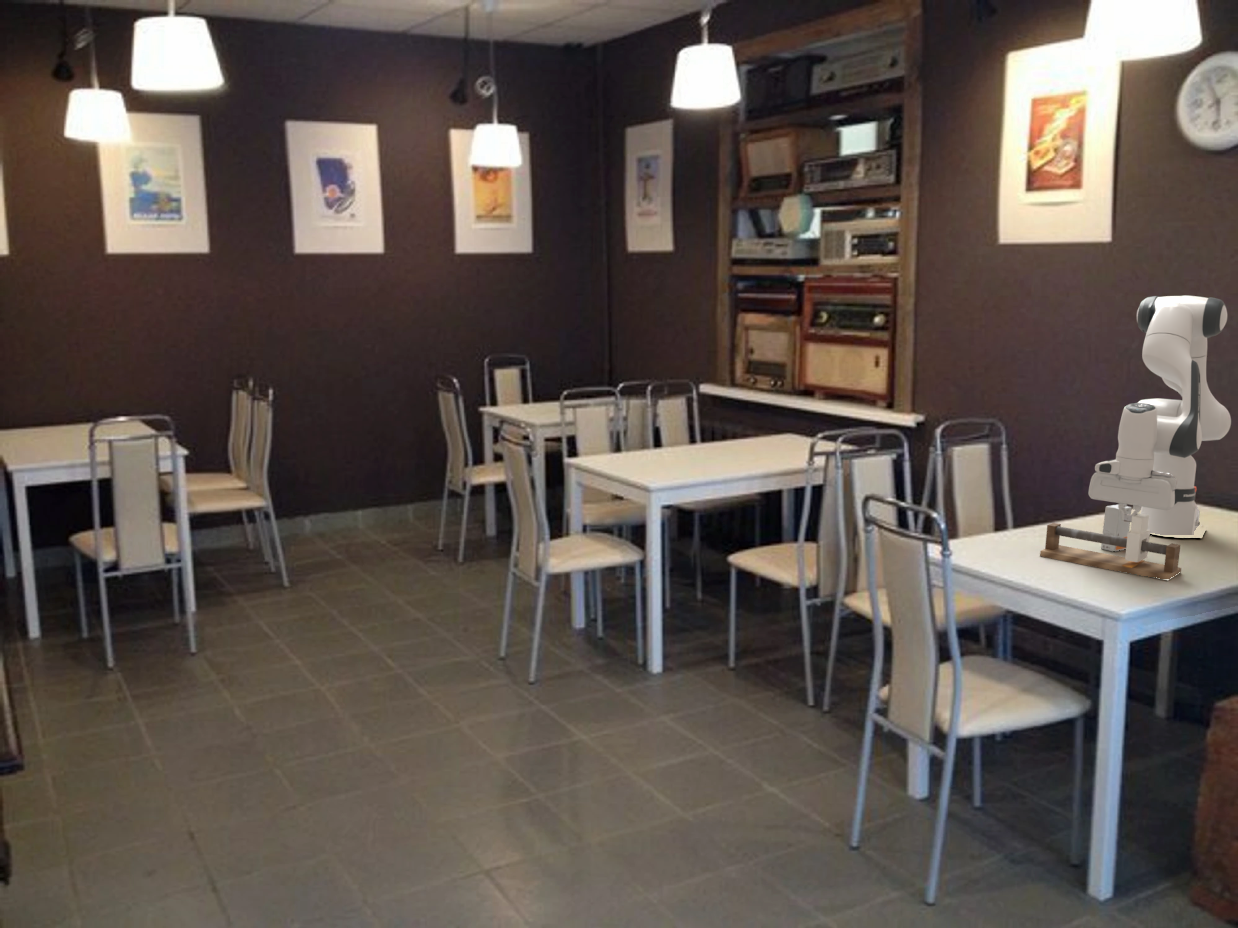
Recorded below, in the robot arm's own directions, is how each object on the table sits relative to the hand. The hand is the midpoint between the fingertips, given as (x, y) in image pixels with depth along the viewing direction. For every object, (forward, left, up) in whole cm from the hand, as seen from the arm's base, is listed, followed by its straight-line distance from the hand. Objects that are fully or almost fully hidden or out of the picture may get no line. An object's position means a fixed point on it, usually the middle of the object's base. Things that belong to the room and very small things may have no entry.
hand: (1128, 521), depth 286 cm
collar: (0, +3, -9) cm, 10 cm away
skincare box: (-18, -9, -12) cm, 24 cm away
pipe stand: (0, -4, -12) cm, 13 cm away
